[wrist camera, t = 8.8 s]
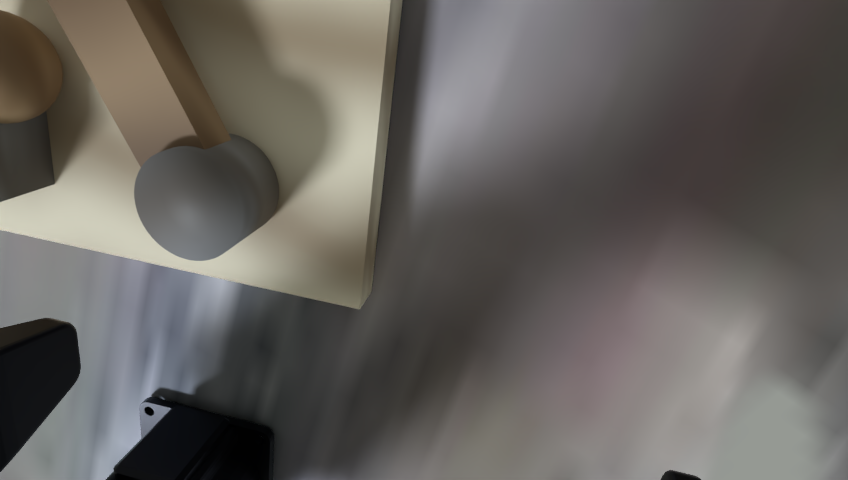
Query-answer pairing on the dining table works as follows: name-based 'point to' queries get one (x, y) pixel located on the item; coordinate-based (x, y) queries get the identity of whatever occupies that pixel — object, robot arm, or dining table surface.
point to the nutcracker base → (241, 115)
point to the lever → (170, 129)
